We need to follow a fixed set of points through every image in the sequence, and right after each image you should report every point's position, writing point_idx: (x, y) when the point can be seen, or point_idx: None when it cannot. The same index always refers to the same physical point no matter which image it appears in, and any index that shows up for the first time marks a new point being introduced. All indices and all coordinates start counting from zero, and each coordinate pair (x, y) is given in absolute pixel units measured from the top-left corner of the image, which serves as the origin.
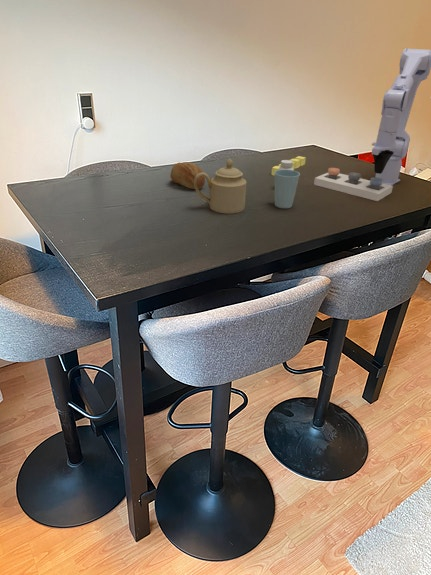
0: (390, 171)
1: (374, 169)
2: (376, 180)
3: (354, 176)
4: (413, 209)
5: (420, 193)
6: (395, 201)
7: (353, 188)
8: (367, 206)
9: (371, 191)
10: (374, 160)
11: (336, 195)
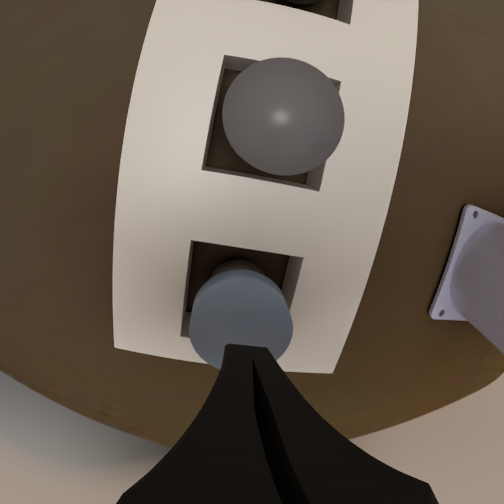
0: (488, 328)
1: (228, 356)
2: (196, 340)
3: (225, 128)
4: (149, 438)
5: (372, 421)
6: (193, 387)
7: (122, 171)
8: (30, 296)
9: (123, 302)
10: (187, 431)
11: (68, 96)
